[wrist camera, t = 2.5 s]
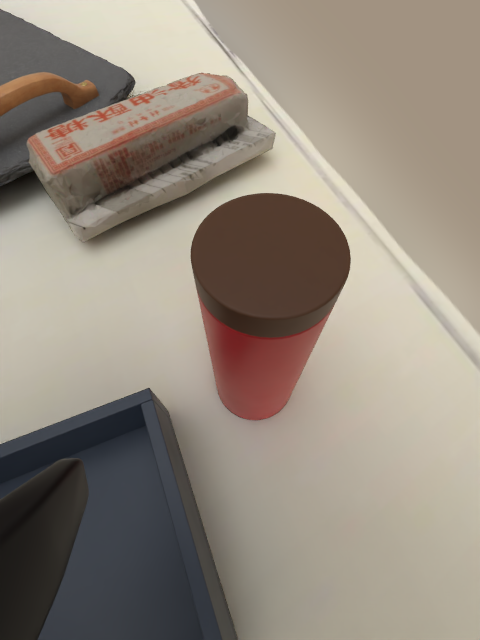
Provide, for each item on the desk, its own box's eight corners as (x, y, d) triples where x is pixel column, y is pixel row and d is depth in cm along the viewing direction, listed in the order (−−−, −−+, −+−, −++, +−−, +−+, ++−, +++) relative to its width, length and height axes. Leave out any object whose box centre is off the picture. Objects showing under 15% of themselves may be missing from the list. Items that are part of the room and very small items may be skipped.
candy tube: (304, 402, 20) (383, 285, 9) (233, 432, 19) (224, 344, 8) (272, 337, 22) (304, 176, 11) (206, 362, 21) (170, 215, 10)
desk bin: (243, 658, 15) (245, 718, 11) (-56, 823, 13) (-196, 977, 9) (167, 410, 20) (149, 387, 16) (-56, 498, 18) (-144, 498, 14)
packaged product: (46, 193, 20) (1, 123, 25) (83, 248, 25) (39, 180, 29) (279, 89, 25) (206, 45, 29) (277, 150, 29) (213, 104, 34)
